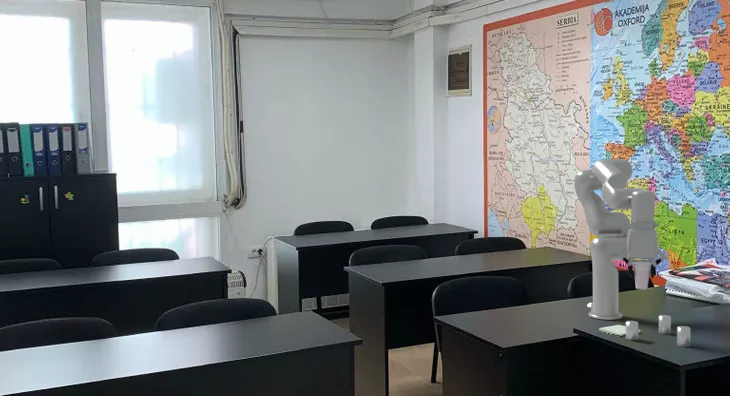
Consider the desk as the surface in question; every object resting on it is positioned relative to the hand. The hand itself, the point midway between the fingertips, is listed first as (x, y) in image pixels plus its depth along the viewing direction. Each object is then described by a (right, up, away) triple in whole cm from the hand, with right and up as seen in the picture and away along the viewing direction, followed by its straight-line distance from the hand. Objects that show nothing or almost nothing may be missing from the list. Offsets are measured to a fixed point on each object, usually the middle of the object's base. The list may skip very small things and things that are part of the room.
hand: (641, 276), depth 248 cm
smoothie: (0, -4, 0) cm, 4 cm away
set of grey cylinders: (+6, -21, -6) cm, 23 cm away
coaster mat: (-5, -21, +7) cm, 22 cm away
